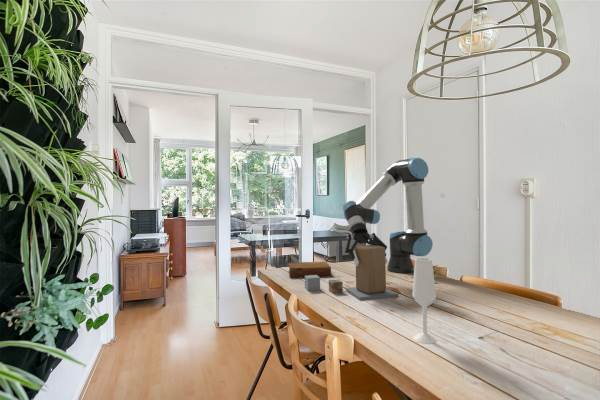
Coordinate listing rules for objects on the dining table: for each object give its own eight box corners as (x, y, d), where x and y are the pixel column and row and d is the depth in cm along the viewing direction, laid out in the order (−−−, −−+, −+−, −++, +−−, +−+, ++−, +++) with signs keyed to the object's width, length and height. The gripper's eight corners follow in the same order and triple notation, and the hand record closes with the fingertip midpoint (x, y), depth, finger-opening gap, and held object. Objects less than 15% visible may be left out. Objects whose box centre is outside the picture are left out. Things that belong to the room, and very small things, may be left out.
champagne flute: (421, 332, 108) (419, 256, 108) (441, 339, 102) (439, 258, 103) (408, 338, 104) (407, 258, 104) (429, 345, 98) (427, 261, 98)
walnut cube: (339, 290, 162) (338, 279, 162) (342, 292, 157) (342, 281, 157) (328, 290, 161) (328, 280, 161) (332, 293, 156) (332, 282, 156)
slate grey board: (381, 287, 164) (381, 285, 164) (398, 296, 148) (398, 293, 148) (345, 290, 160) (345, 288, 160) (359, 300, 144) (359, 297, 144)
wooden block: (355, 289, 157) (354, 245, 157) (373, 287, 161) (372, 244, 161) (368, 295, 148) (367, 248, 148) (386, 292, 152) (386, 246, 152)
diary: (289, 279, 189) (289, 268, 189) (288, 272, 208) (288, 262, 208) (331, 277, 191) (330, 266, 191) (326, 270, 209) (325, 261, 209)
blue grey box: (316, 287, 168) (316, 274, 168) (320, 290, 162) (320, 277, 162) (304, 288, 167) (304, 275, 167) (307, 291, 161) (307, 278, 161)
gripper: (378, 231, 173) (394, 266, 158) (331, 233, 167) (343, 270, 152) (383, 221, 168) (400, 256, 153) (335, 223, 162) (347, 260, 147)
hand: (371, 263), depth 153 cm, fingers open, 13 cm apart
